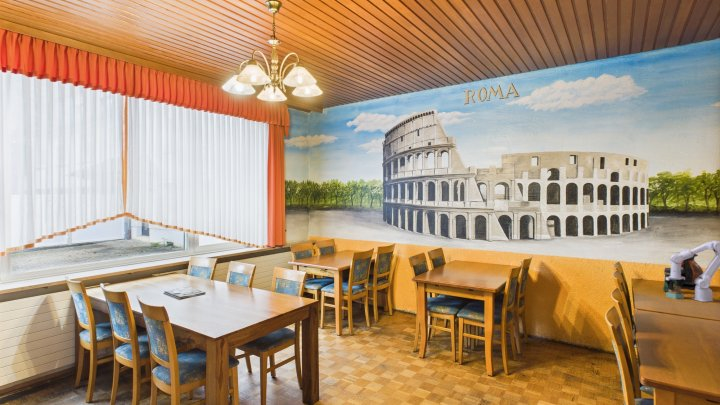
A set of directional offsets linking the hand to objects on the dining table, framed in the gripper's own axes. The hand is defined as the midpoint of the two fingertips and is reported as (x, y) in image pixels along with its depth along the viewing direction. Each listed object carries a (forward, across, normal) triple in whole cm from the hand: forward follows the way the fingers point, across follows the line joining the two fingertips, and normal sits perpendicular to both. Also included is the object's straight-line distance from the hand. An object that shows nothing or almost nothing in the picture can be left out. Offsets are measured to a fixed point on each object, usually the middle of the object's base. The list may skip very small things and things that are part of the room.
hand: (675, 289), depth 275 cm
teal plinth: (+6, 0, 0) cm, 6 cm away
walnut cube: (+3, 0, 0) cm, 3 cm away
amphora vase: (+6, -39, -24) cm, 46 cm away
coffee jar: (+6, -13, -14) cm, 20 cm away
